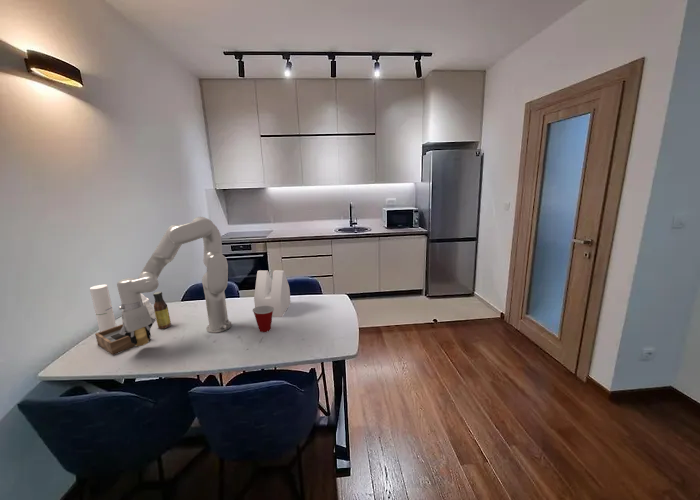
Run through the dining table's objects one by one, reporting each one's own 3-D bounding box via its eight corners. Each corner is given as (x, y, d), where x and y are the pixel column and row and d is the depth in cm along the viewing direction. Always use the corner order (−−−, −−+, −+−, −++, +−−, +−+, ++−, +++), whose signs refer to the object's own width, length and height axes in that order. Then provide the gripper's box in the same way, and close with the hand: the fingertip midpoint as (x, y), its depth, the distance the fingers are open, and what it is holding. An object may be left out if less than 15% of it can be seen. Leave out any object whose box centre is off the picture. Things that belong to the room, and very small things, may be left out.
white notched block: (267, 303, 192) (263, 266, 186) (290, 303, 191) (287, 266, 185) (256, 317, 173) (251, 276, 168) (282, 317, 172) (278, 275, 167)
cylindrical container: (119, 328, 164) (110, 285, 159) (104, 334, 158) (94, 289, 152) (112, 326, 167) (102, 283, 162) (97, 332, 161) (86, 288, 155)
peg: (150, 341, 142) (146, 326, 140) (138, 347, 138) (134, 331, 136) (145, 339, 144) (141, 324, 143) (133, 344, 140) (130, 328, 139)
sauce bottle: (173, 324, 166) (167, 291, 162) (163, 330, 161) (157, 295, 156) (165, 323, 169) (159, 290, 164) (154, 328, 163) (148, 294, 158)
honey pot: (124, 322, 171) (117, 293, 167) (146, 313, 183) (140, 285, 179) (139, 326, 166) (132, 295, 162) (160, 316, 178) (155, 288, 174)
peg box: (150, 339, 151) (148, 328, 149) (112, 355, 138) (110, 343, 136) (134, 331, 161) (132, 320, 159) (97, 344, 148) (95, 333, 146)
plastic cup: (280, 329, 158) (278, 307, 155) (261, 336, 150) (259, 314, 148) (268, 322, 165) (266, 302, 162) (250, 330, 157) (248, 309, 155)
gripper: (114, 314, 128) (124, 351, 132) (156, 299, 141) (164, 334, 146) (107, 310, 132) (117, 347, 136) (149, 296, 145) (157, 330, 150)
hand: (141, 340), depth 141 cm, fingers closed on peg, 5 cm apart
